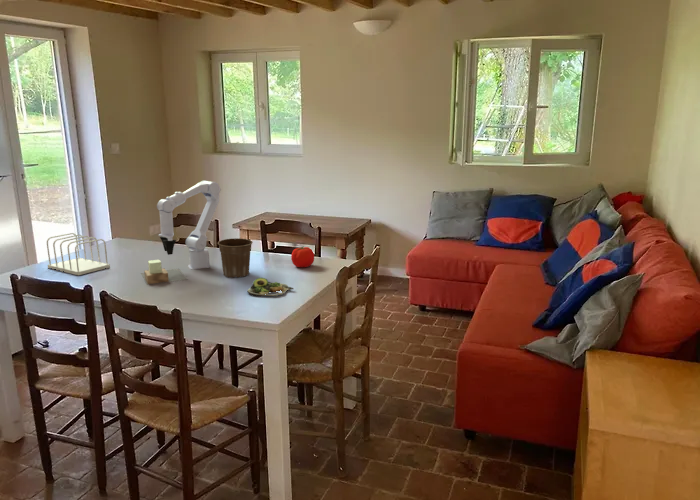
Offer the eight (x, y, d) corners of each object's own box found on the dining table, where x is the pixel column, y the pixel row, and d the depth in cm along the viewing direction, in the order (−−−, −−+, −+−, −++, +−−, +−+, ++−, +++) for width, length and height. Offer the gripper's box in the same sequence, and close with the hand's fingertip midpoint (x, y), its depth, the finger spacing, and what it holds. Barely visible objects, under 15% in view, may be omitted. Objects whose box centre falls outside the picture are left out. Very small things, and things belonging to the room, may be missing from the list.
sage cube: (148, 271, 256) (148, 260, 254) (160, 269, 258) (159, 259, 257) (150, 274, 251) (149, 263, 250) (162, 272, 254) (161, 262, 252)
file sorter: (110, 267, 277) (107, 237, 273) (78, 276, 263) (74, 244, 259) (79, 260, 290) (76, 231, 286) (47, 268, 275) (43, 237, 271)
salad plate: (298, 286, 250) (298, 277, 249) (287, 299, 233) (287, 289, 232) (257, 284, 253) (256, 274, 252) (243, 296, 236) (243, 286, 235)
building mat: (179, 269, 275) (179, 268, 274) (187, 280, 257) (187, 279, 257) (140, 274, 266) (140, 273, 266) (147, 285, 249) (146, 284, 249)
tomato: (309, 262, 289) (309, 243, 286) (317, 268, 279) (317, 248, 276) (287, 265, 284) (287, 245, 281) (295, 270, 274) (295, 250, 271)
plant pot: (260, 272, 270) (259, 240, 266) (239, 281, 256) (237, 247, 252) (234, 268, 278) (232, 236, 274) (212, 276, 264) (210, 243, 260)
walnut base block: (165, 276, 262) (164, 268, 261) (168, 281, 254) (167, 273, 253) (145, 278, 258) (144, 270, 257) (147, 284, 250) (147, 275, 249)
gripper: (155, 222, 267) (157, 250, 270) (160, 228, 254) (162, 256, 257) (170, 221, 270) (172, 248, 273) (176, 226, 257) (178, 255, 260)
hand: (168, 252), depth 265 cm, fingers open, 7 cm apart
